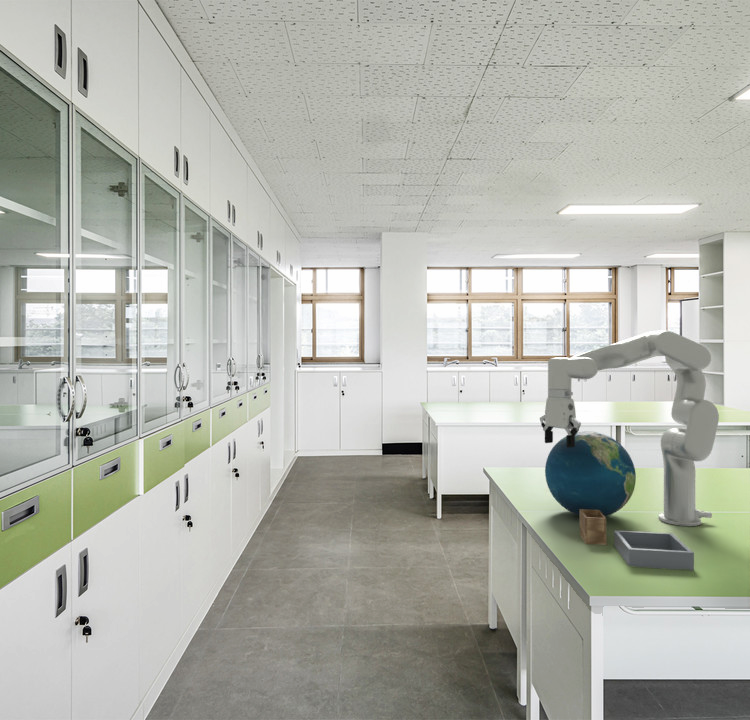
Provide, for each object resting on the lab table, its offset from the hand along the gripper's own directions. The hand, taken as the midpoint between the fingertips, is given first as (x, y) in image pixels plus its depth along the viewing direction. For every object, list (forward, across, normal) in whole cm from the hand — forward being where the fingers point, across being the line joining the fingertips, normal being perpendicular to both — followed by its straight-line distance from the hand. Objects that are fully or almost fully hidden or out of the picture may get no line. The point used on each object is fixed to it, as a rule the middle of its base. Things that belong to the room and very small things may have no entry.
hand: (559, 444), depth 182 cm
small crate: (+27, -16, +3) cm, 31 cm away
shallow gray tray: (+27, -34, 0) cm, 44 cm away
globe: (+27, +1, -16) cm, 31 cm away
